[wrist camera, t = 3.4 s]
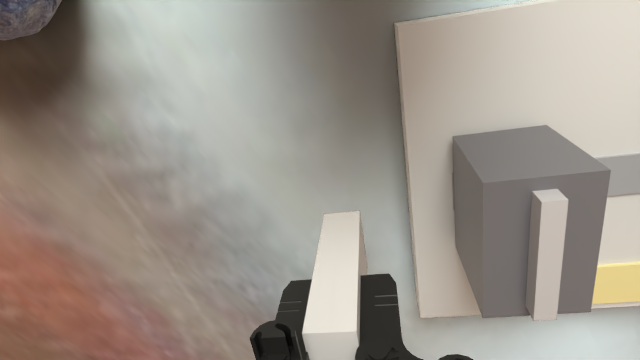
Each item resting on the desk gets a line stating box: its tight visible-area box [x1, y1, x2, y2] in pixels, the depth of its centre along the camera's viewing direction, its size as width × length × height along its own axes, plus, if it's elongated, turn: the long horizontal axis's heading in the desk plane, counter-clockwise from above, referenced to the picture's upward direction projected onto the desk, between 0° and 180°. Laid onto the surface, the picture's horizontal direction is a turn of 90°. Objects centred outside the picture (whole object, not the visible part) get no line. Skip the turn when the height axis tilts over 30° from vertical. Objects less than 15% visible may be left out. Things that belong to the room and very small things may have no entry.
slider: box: [452, 125, 611, 321], centre depth 17 cm, size 4×6×6 cm, turn 9°
